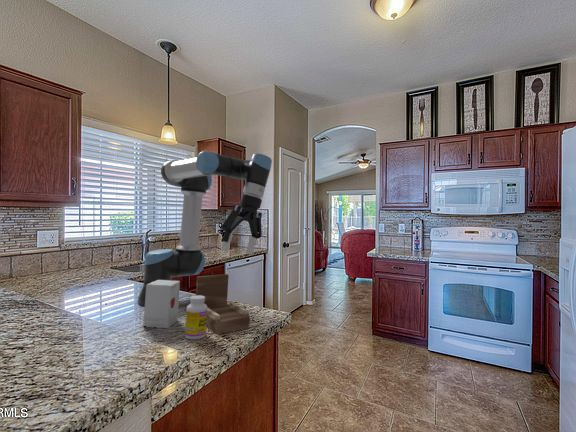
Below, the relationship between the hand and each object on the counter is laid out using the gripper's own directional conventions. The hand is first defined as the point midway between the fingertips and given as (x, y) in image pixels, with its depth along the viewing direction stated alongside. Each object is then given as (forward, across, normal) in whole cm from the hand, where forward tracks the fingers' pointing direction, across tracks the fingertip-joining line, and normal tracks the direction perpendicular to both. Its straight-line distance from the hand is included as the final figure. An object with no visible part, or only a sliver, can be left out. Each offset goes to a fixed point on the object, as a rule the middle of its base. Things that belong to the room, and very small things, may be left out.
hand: (237, 252), depth 105 cm
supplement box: (+32, -9, +18) cm, 38 cm away
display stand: (+28, +5, +3) cm, 28 cm away
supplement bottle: (+29, -9, 0) cm, 31 cm away
